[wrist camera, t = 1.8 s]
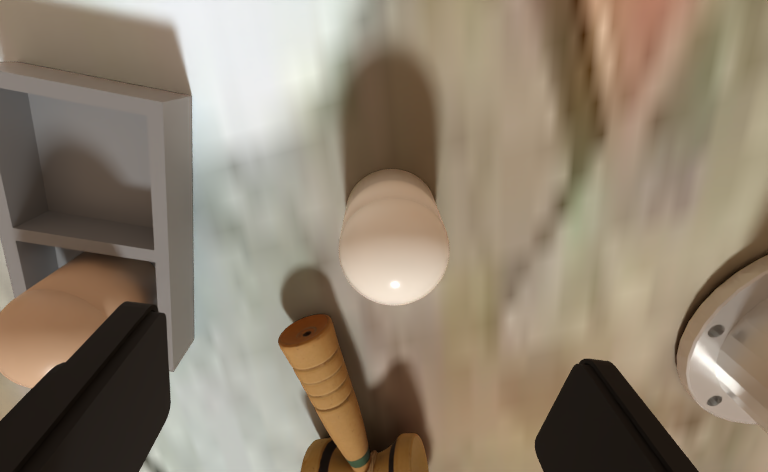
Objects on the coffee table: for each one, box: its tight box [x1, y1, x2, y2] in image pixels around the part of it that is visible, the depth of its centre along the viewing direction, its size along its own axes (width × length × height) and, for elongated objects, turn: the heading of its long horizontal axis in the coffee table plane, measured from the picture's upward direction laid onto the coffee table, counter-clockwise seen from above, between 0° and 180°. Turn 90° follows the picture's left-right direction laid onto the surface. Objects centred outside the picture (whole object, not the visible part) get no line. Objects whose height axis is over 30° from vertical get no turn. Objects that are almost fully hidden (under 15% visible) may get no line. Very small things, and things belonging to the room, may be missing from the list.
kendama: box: [278, 314, 428, 472], centre depth 23 cm, size 8×6×18 cm
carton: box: [0, 62, 194, 388], centre depth 16 cm, size 7×13×7 cm, turn 169°
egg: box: [339, 169, 450, 305], centre depth 16 cm, size 4×4×6 cm
